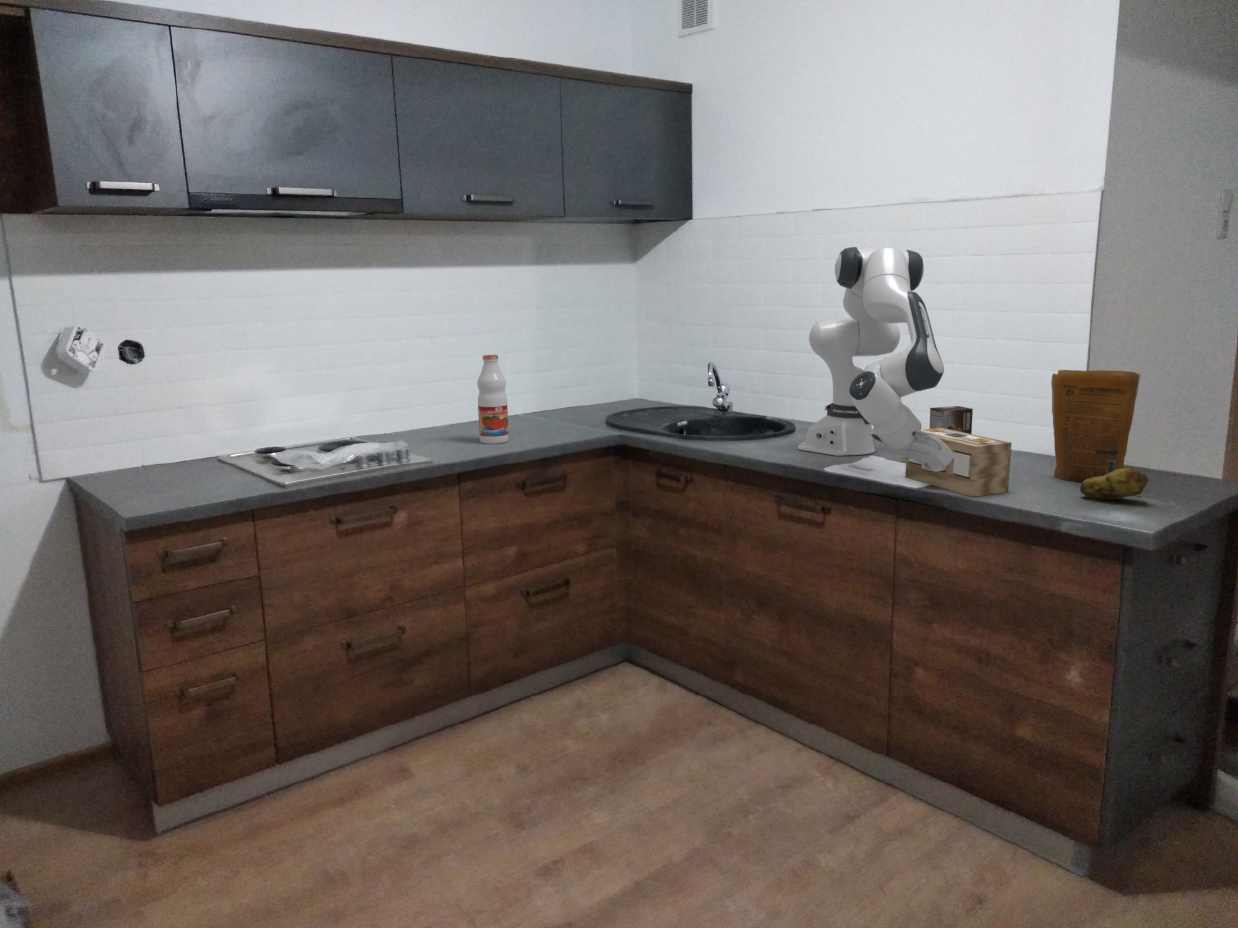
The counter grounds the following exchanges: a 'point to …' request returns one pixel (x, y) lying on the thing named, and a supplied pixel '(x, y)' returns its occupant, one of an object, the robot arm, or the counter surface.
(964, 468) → the button
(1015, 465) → the counter surface
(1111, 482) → the potato
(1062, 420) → the pancake mix bag
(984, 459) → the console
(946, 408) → the coffee box
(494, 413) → the fruit juice
